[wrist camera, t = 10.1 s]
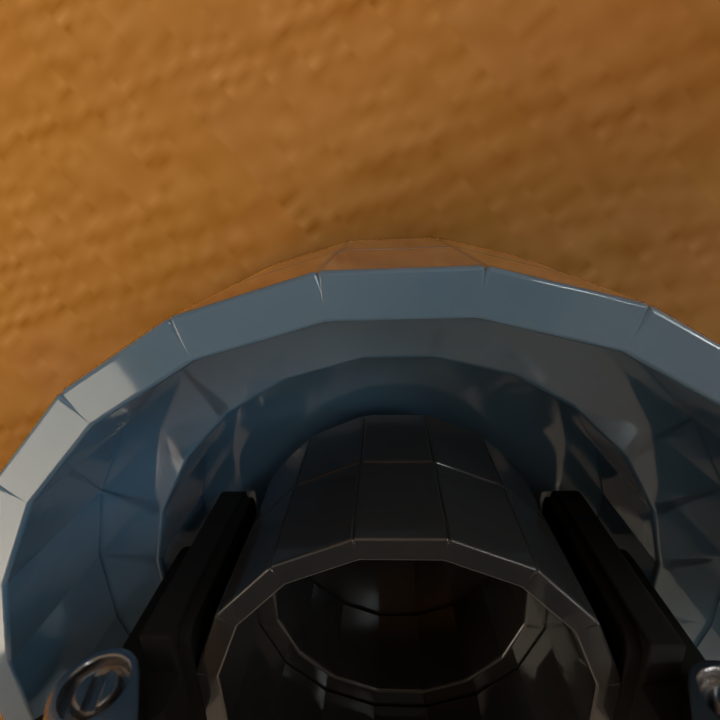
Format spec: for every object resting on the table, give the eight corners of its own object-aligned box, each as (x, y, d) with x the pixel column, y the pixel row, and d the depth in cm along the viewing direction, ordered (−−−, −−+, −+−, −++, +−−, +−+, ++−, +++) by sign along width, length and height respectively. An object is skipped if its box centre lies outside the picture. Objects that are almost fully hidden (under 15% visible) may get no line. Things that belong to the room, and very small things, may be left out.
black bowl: (393, 346, 10) (399, 450, 6) (586, 523, 11) (709, 716, 7) (215, 522, 12) (120, 700, 8) (398, 657, 13) (404, 874, 9)
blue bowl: (390, 89, 9) (397, -70, 4) (776, 499, 12) (1090, 733, 6) (55, 499, 13) (-166, 694, 8) (400, 738, 16) (407, 1003, 10)
